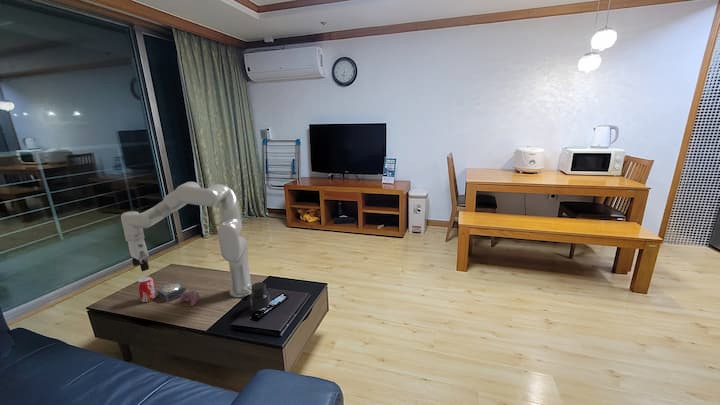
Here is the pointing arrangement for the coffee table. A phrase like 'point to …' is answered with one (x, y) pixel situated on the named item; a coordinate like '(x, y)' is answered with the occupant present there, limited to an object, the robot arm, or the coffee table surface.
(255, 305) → the ink bottle
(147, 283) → the soda can
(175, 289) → the motor block
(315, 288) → the coffee table surface
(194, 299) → the video game controller
